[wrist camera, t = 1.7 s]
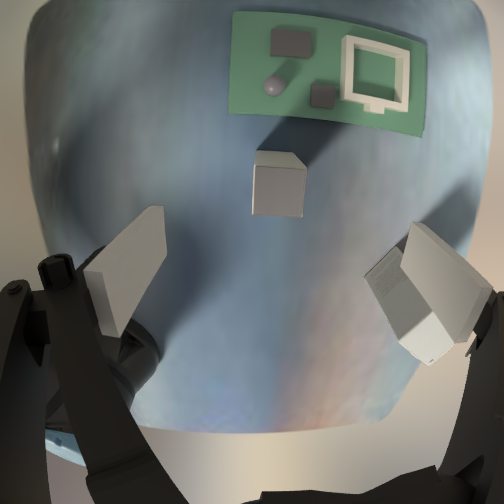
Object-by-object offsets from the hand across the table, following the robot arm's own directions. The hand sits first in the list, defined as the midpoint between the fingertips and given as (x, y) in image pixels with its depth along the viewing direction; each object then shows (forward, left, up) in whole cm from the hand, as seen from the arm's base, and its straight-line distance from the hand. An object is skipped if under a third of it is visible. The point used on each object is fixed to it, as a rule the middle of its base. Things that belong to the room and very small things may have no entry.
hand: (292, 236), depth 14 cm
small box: (+18, -13, -19) cm, 29 cm away
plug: (0, 0, -19) cm, 19 cm away
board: (+6, +12, -19) cm, 23 cm away
